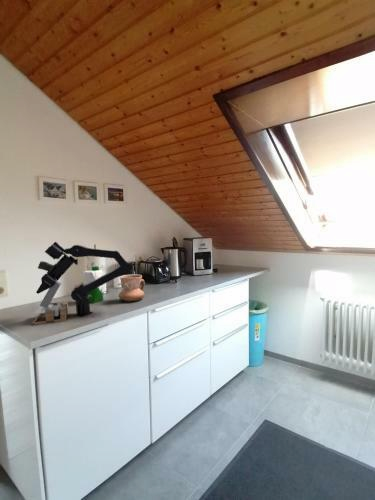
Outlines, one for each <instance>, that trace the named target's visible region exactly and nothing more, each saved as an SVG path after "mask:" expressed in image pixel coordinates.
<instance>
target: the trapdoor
mask: <svg viewBox="0 0 375 500" xmlns="http://www.w3.org/2000/svg"><path fill="white" fill-rule="evenodd" d="M61 307H62V303H60V304H58V305H54V304H49V306H48V308H47V309H46V308H44V307H42V306H40V305H39V306H38V308H37V309H36V310H35V311H34V312H35V313H34V314H39V313H45V311H46V310H53V313H54V317H59V316H60V309H61Z"/></svg>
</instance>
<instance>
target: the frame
mask: <svg viewBox="0 0 375 500" xmlns="http://www.w3.org/2000/svg"><path fill="white" fill-rule="evenodd" d="M50 304H54V305H58V301H57V302H51V303H50ZM50 304H49V305H50ZM69 312H70V311H69V302H68V301H64V302H63V303H61V309H60V314H59V316H60V318H59V319H55V316H54V313H53V310H46V311H45V312H42V313H37V316H36V317H35V318H34V320H33V321H32V326H36V325H43V324H53V323H59V322H65V321H66V320H67V319H68V318H67V317H68V315H69ZM41 316H45V320H42V321H41V320H40V321H38V320H39V319H40V318H41Z"/></svg>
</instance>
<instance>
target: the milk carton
mask: <svg viewBox="0 0 375 500" xmlns="http://www.w3.org/2000/svg"><path fill="white" fill-rule="evenodd" d="M82 274H83V278H84V284H88V283H90V282H92V281H94V280H96V279H97V278H99V277H101V276H103V270H102V269H100V267H99V265H96V266H91V269H89V270H86V271H82ZM88 295H89V298H88V301H89V304H96V303H99V302H100V303H101V302H103V301H104V295H103V285H101V286H99V287H98V288H96V289H94V290H92V291H91V292H90V293H88Z"/></svg>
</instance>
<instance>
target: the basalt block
mask: <svg viewBox="0 0 375 500" xmlns="http://www.w3.org/2000/svg"><path fill="white" fill-rule="evenodd" d="M61 285H62V282H59V281H57V282H56V284H55V285H54V286H53V287H51V288H49V289H47V292H46V293H45V295H44V296H43V299H42V300H41V302H40V304H39V306H42V307H44V308H46V309H47V308H48V306H49V305H50V303H52V301H53V299H54V297H55V295H57V291H58V290H59V289H60V286H61Z"/></svg>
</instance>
